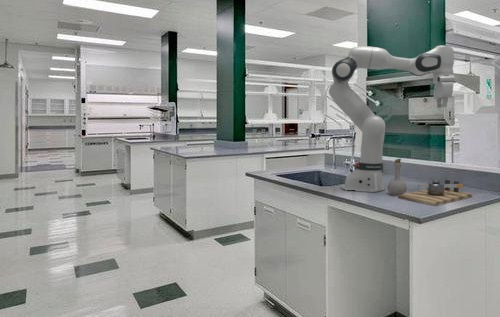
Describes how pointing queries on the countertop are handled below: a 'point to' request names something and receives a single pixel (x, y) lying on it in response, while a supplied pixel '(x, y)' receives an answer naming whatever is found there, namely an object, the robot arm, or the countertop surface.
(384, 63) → the robot arm
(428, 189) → the capstan
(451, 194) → the stand
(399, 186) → the potion bottle
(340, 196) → the countertop surface
